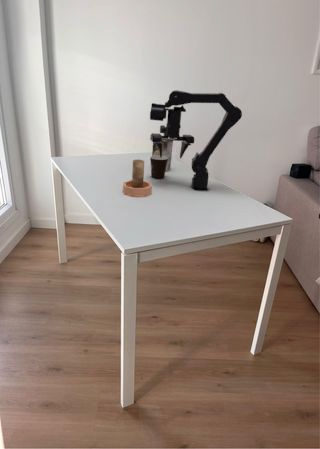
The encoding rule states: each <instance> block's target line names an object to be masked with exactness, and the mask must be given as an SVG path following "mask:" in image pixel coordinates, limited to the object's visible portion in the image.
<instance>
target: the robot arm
mask: <svg viewBox="0 0 320 449" xmlns="http://www.w3.org/2000/svg"><path fill="white" fill-rule="evenodd" d="M187 104H219V105H220V107H222V109H223V110H224V112H225V113H224V115H223V117H222V121H221V122H220V125H219V126H218V128H217V129H216V131H215V133H214V134H213V135H212V136H211V138H210V139H209V141H208V142H207V144H206V146H205V147H204V148H203V149H202V151H201V152H200V153H199V152H196V153H195V154H194V156H193V157H192V158H191V170H192V172H193V175H192V178H191V185H190V186H191V187H192V189H193V190H194V191H208V190H209V188H208V183H209V176H210V174H209V171H208V168H207V164H208V162H209V160H210V157H211V156H212V154H213V153H214V151H215V150H216V148H217V147H218V146H219V144H220V143H221V141H222V140H223V138H224V137H225V136H226V134H228V131H230V130H231V128H233V126H235V125H236V124H237V123H238V122H239V121H240V120H241V118H242V116H243V113H242V112H243V111H242V110H241V108H239V107H238V106H236V105H234V104H233V103H232V102H231V101H230V100H229V98H228V97H227V96H226V94H225V93H223V92H218V93H209V92H207V93H202V92H200V93H197V92H196V93H195V92H193V93H192V92H187V91H183V90H178V89H176V90H175V89H174V90H172V91H171V92H170V94H169V95H168V100H167V101H166V102H164V104H162V103H155V102H152V103H151V105H150V106H151V107H150V111H149V121H160V122H163V121H164V120H165V119H166V124H165V125H166V126H165V125H162V124H161V125H160V126H159V133H151V134H150V141H151V142H152V143H153V142H154V143H155V144H156V145H157V147H158V151H159V155H160V158H161V157H162V143H161V141H162V140H171V141H173V142H174V141H177V142H178V141H179V142H181V146H180V153H179V158H180V159H183V158H182V157H183V156H184V154H185V152H186V150H187V149H188V147H189V146H192V144H195V137H194V136H193V135H191V134H183V135H182V136H180V131H181V126H182V125H181V122H182V121H181V119H182V113H186V112H187V109H186V108H185V107H184V105H187ZM171 107H173V108H171ZM162 134H163V135H162Z"/></svg>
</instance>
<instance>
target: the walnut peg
mask: <svg viewBox="0 0 320 449" xmlns="http://www.w3.org/2000/svg"><path fill="white" fill-rule="evenodd" d="M144 176H145V160H143V159H133V160H132V176H131V177H132V178H131V180H132V188H143V181H145V180H144V178H145V177H144Z"/></svg>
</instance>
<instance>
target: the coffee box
mask: <svg viewBox="0 0 320 449" xmlns="http://www.w3.org/2000/svg"><path fill="white" fill-rule="evenodd" d="M161 143H162V156H165V157H167V158H168V160H167V166H166V171H165V173H166V172H169V171H171V166H172V158H173V157H172V156H173V148H174V147H173V146H174V141H171V140H162V141H161ZM151 153H152V154H151V156H155V155H159V151H158V147H157V145H156V144H155V143H154V142H152V152H151ZM159 156H160V155H159Z"/></svg>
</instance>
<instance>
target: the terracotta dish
mask: <svg viewBox="0 0 320 449" xmlns="http://www.w3.org/2000/svg"><path fill="white" fill-rule="evenodd" d="M122 185H123V186H122V193H123V194H124V195H126V196H129V197H133V198H143V197H144V198H145V197H149V196H151V195H152V194H153V193H152V191H153V190H152V189H153V186H152V184H151V182H150V181H146V180H143V188H132V179H130V180H127V181H124V182H123V184H122Z"/></svg>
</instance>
